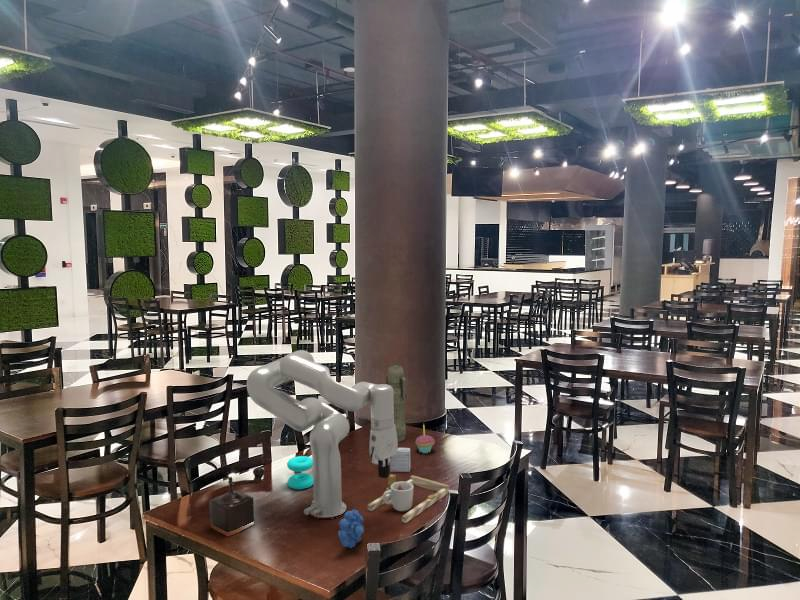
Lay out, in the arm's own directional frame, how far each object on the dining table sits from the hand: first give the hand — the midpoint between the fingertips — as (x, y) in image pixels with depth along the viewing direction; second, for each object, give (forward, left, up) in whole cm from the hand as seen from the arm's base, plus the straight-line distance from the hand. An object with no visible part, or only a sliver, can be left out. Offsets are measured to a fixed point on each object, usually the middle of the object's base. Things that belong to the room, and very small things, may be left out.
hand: (383, 476), depth 188 cm
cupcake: (+59, +22, -15) cm, 65 cm away
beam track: (+15, +2, -14) cm, 21 cm away
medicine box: (+36, +19, -15) cm, 44 cm away
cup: (+8, 0, -15) cm, 17 cm away
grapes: (-20, -4, -15) cm, 25 cm away
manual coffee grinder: (-30, +37, -15) cm, 50 cm away
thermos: (+65, +42, -15) cm, 79 cm away
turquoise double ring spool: (+3, +42, -15) cm, 45 cm away
